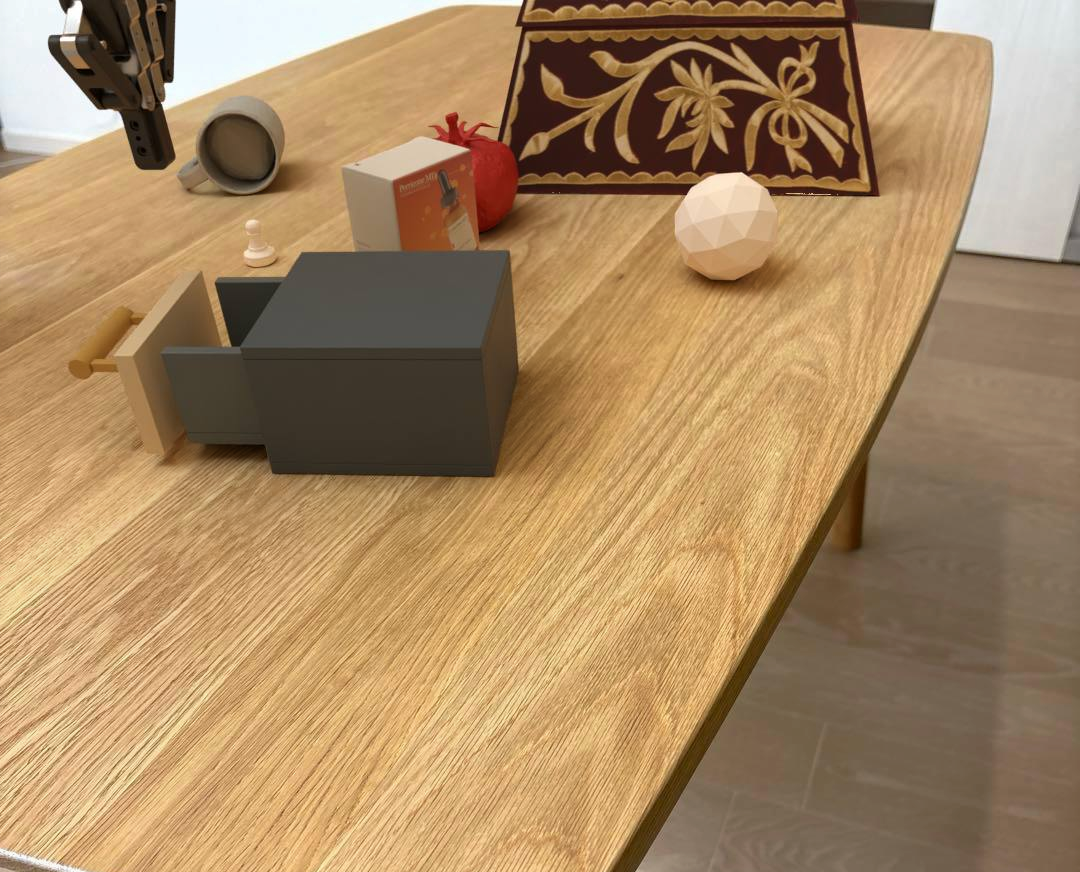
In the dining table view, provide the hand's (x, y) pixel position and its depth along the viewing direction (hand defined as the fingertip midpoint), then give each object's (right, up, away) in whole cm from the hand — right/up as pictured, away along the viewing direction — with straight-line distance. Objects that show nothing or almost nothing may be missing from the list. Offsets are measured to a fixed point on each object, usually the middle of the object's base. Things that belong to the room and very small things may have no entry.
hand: (157, 165), depth 70 cm
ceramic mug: (-4, +10, +34) cm, 36 cm away
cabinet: (+16, -17, -1) cm, 23 cm away
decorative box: (+39, +12, +33) cm, 53 cm away
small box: (+16, -5, +13) cm, 21 cm away
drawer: (+6, -16, 0) cm, 17 cm away
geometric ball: (+39, -4, +13) cm, 41 cm away
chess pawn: (+2, -1, +20) cm, 20 cm away
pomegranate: (+18, +3, +24) cm, 30 cm away
